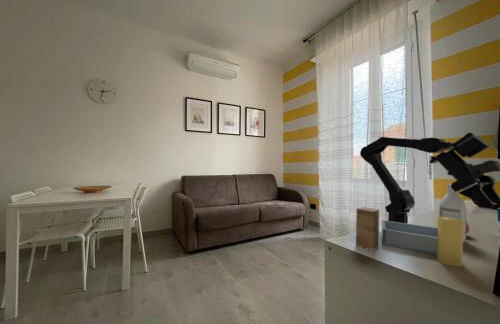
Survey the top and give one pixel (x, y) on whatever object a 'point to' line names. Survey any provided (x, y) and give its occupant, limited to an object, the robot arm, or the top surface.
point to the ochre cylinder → (450, 241)
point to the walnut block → (367, 227)
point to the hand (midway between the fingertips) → (497, 206)
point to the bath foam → (453, 207)
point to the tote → (410, 236)
